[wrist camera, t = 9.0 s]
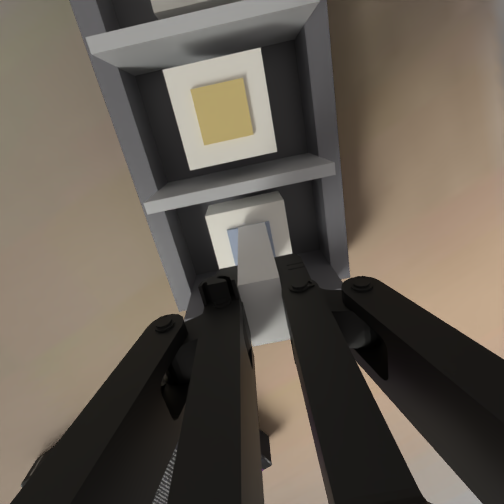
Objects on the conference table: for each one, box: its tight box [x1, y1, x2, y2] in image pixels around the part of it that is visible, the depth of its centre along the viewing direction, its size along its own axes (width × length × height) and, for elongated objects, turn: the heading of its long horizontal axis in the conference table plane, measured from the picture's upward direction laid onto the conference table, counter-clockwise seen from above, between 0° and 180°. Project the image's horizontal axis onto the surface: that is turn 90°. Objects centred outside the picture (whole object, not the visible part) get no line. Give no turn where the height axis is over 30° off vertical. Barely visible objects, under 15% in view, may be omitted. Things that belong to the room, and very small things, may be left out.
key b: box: [205, 191, 292, 270], centre depth 18 cm, size 4×4×3 cm
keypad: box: [69, 0, 350, 321], centre depth 15 cm, size 12×30×6 cm, turn 11°
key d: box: [163, 47, 277, 170], centre depth 15 cm, size 4×4×3 cm
